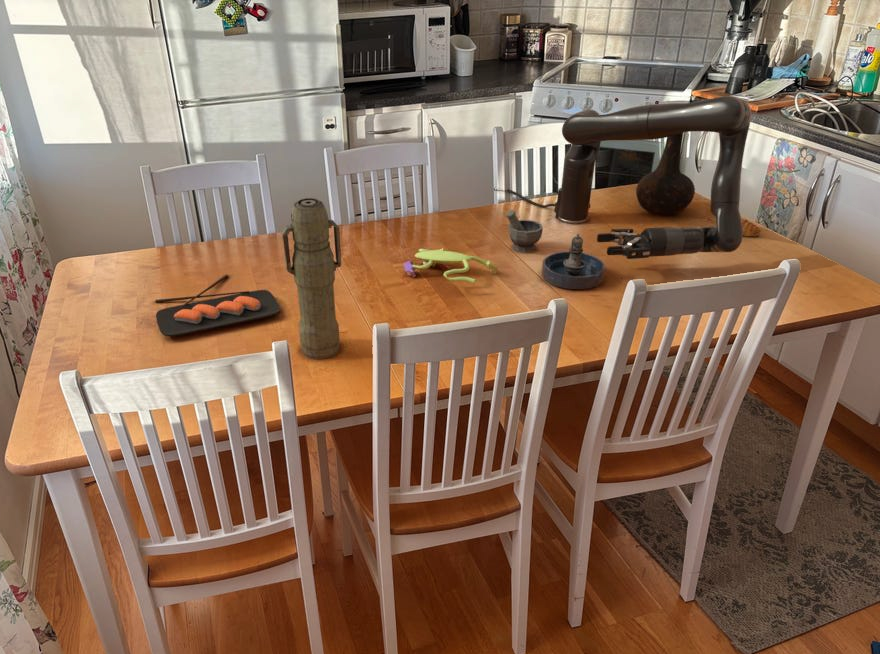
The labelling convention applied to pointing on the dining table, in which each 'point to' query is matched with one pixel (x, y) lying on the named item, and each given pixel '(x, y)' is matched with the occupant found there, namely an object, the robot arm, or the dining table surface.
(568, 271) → the salt shaker
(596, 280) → the bowl
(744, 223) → the pastry
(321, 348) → the thermos
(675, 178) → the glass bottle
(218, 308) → the sushi plate
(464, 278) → the figurine
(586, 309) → the dining table surface
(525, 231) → the mortar and pestle
